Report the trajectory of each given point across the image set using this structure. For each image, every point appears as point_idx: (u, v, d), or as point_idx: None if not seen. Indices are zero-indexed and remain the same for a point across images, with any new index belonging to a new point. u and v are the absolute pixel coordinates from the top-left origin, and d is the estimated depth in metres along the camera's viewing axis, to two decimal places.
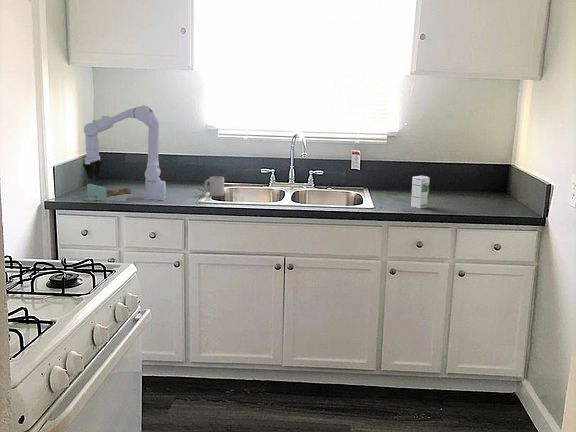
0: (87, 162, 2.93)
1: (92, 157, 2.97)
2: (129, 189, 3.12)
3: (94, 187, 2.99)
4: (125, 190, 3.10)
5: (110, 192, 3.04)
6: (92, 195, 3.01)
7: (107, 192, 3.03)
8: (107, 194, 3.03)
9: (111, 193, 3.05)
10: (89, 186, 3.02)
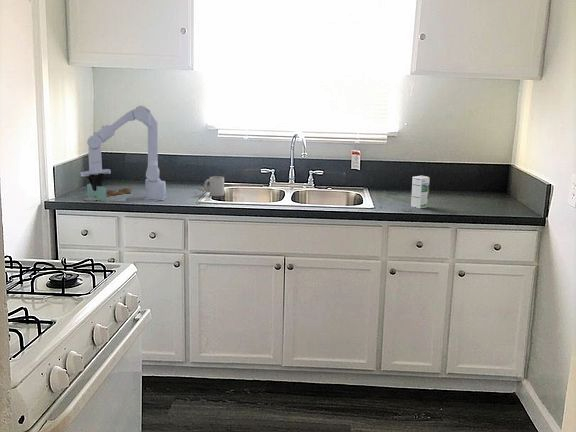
0: (81, 174, 2.92)
1: (91, 170, 2.95)
2: (129, 189, 3.12)
3: None
4: (125, 190, 3.10)
5: (110, 192, 3.04)
6: (92, 195, 3.01)
7: (107, 192, 3.03)
8: (107, 194, 3.03)
9: (111, 193, 3.05)
10: (89, 186, 3.02)
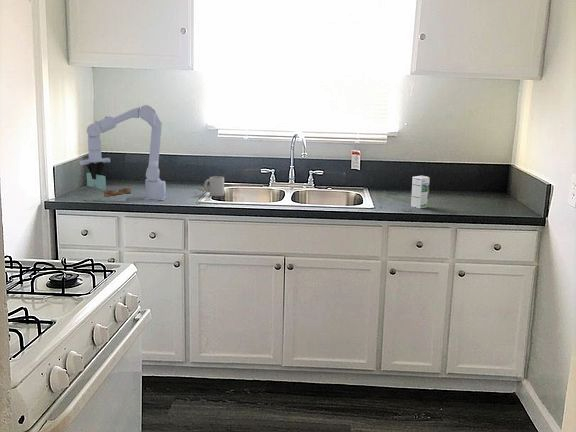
0: (81, 163, 2.91)
1: (90, 158, 2.94)
2: (129, 189, 3.12)
3: None
4: (125, 190, 3.10)
5: (110, 192, 3.04)
6: (91, 184, 3.00)
7: (107, 192, 3.03)
8: (107, 194, 3.03)
9: (111, 193, 3.05)
10: (88, 175, 3.01)
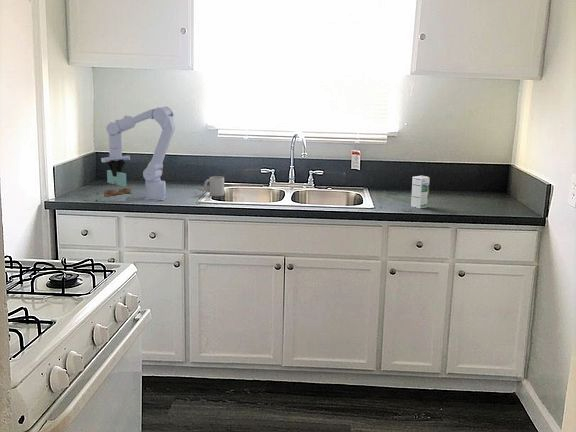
0: (102, 160, 2.99)
1: (111, 156, 3.01)
2: (129, 189, 3.12)
3: None
4: (125, 190, 3.10)
5: (110, 192, 3.04)
6: (112, 181, 3.08)
7: (107, 192, 3.03)
8: (107, 194, 3.03)
9: (111, 193, 3.05)
10: (109, 172, 3.09)
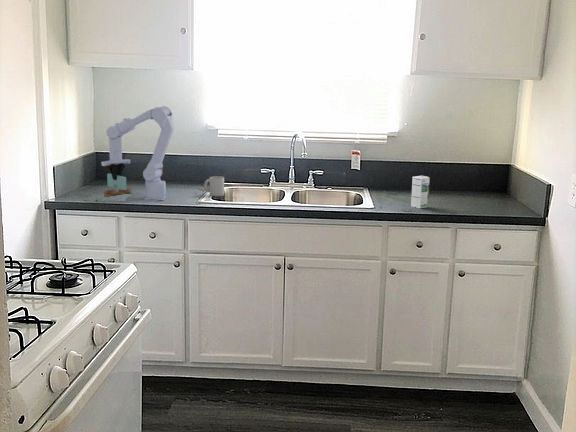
0: (102, 164, 2.99)
1: (112, 159, 3.02)
2: (129, 189, 3.12)
3: None
4: (125, 190, 3.10)
5: (110, 192, 3.04)
6: (112, 184, 3.08)
7: (107, 192, 3.03)
8: (107, 194, 3.03)
9: (111, 193, 3.05)
10: (109, 176, 3.09)
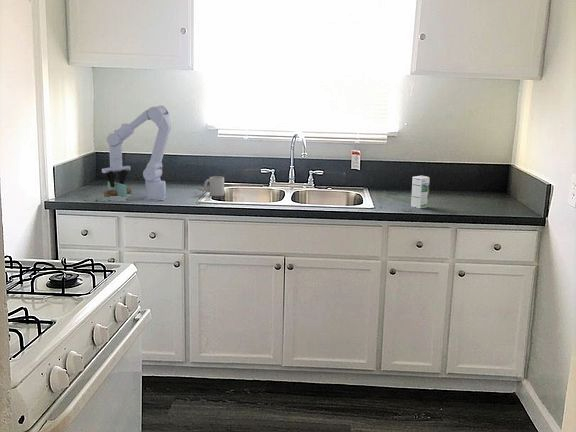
0: (103, 171, 3.00)
1: (112, 166, 3.03)
2: (129, 189, 3.12)
3: (115, 184, 3.07)
4: None
5: (110, 192, 3.04)
6: None
7: (107, 192, 3.03)
8: (107, 194, 3.03)
9: (111, 193, 3.05)
10: (109, 183, 3.10)
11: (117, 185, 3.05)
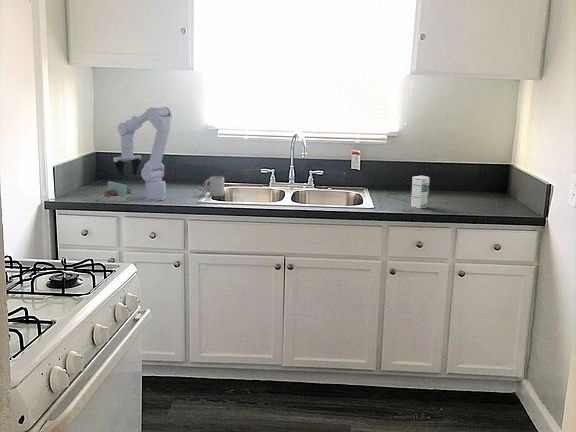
0: (114, 159, 3.07)
1: (123, 155, 3.09)
2: (129, 189, 3.12)
3: (115, 184, 3.07)
4: None
5: (110, 192, 3.04)
6: None
7: (107, 192, 3.03)
8: (107, 194, 3.03)
9: (111, 193, 3.05)
10: (109, 183, 3.10)
11: (117, 185, 3.05)
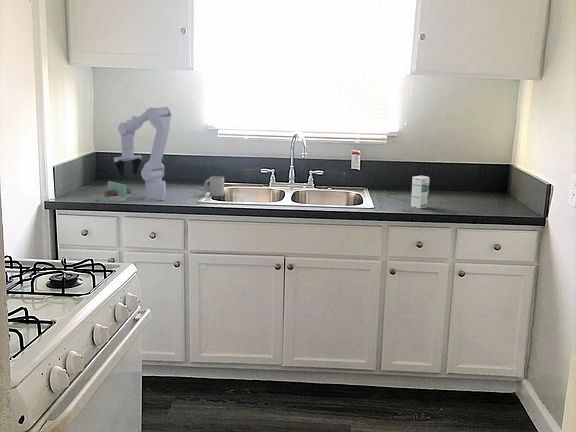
0: (115, 159, 3.07)
1: (124, 155, 3.10)
2: (129, 189, 3.12)
3: (115, 184, 3.07)
4: None
5: (110, 192, 3.04)
6: None
7: (107, 192, 3.03)
8: (107, 194, 3.03)
9: (111, 193, 3.05)
10: (109, 183, 3.10)
11: (117, 185, 3.05)
